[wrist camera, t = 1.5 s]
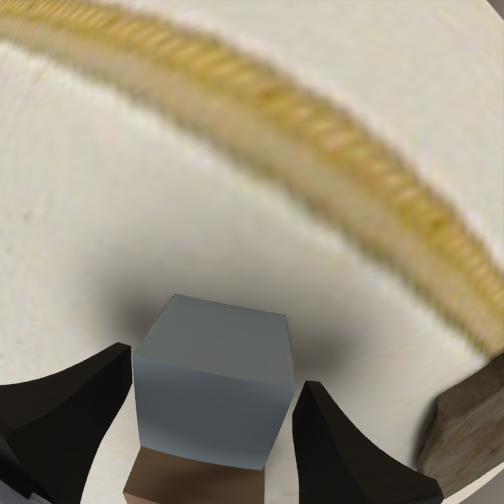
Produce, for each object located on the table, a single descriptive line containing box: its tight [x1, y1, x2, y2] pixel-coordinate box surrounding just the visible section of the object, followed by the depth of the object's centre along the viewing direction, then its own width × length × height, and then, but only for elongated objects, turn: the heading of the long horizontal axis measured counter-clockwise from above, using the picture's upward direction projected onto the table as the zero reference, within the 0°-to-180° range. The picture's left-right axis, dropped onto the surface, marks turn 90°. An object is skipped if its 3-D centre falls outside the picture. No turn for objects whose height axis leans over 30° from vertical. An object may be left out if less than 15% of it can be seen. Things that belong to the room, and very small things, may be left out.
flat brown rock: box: [417, 353, 504, 499], centre depth 13 cm, size 17×15×4 cm
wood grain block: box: [123, 446, 265, 504], centre depth 13 cm, size 7×7×6 cm
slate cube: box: [133, 294, 297, 470], centre depth 11 cm, size 5×5×5 cm
